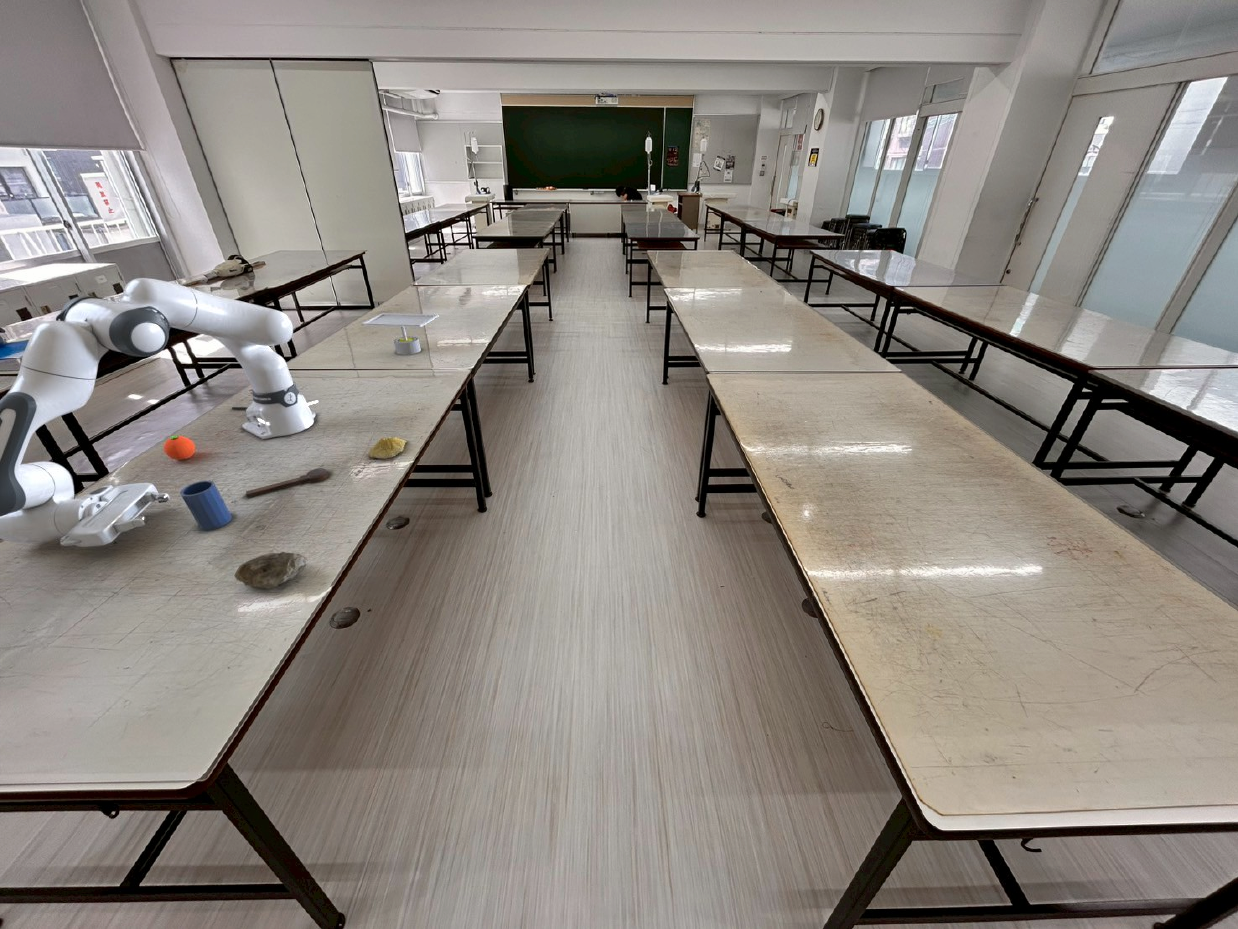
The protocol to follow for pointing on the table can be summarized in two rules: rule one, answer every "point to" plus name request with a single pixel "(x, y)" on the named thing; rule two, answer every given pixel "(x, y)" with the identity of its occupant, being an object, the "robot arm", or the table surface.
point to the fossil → (387, 448)
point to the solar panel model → (402, 320)
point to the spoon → (291, 482)
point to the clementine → (179, 447)
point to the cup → (206, 505)
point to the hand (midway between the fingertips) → (156, 508)
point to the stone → (271, 569)
